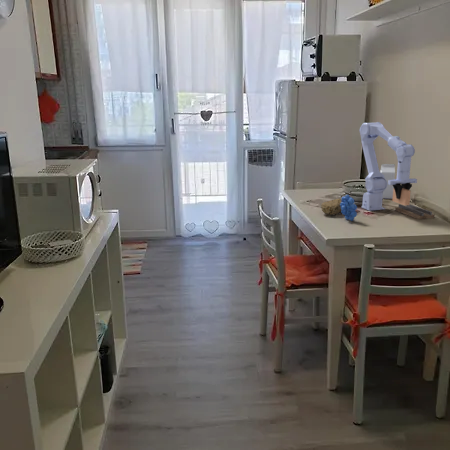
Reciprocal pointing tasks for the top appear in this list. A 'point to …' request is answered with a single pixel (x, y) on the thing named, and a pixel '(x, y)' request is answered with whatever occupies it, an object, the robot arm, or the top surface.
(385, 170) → the milk carton
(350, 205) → the grapes
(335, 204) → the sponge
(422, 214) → the track base
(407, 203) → the peach block
